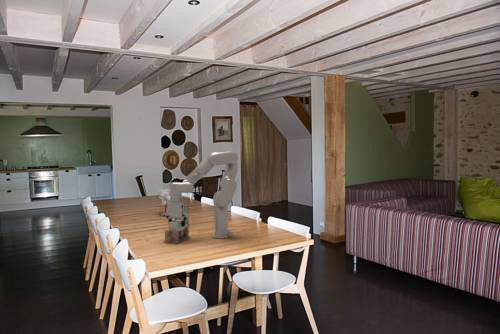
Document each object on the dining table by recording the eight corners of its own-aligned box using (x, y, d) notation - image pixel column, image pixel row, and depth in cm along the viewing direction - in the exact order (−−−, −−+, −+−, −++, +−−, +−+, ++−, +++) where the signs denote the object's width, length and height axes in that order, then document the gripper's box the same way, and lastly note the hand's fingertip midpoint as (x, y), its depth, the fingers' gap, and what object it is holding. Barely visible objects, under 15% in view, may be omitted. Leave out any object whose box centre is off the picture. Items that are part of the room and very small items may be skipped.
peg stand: (190, 238, 251) (189, 226, 251) (178, 244, 236) (177, 232, 236) (176, 236, 255) (176, 225, 254) (163, 242, 240) (163, 230, 239)
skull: (156, 214, 340) (155, 189, 339) (175, 212, 349) (175, 188, 348) (163, 218, 318) (162, 192, 317) (184, 216, 327) (183, 191, 326)
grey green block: (184, 228, 249) (184, 220, 248) (176, 232, 239) (176, 223, 239) (177, 228, 251) (177, 219, 250) (169, 231, 241) (168, 222, 241)
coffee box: (189, 226, 288) (188, 205, 287) (185, 228, 282) (185, 207, 281) (178, 225, 291) (178, 205, 290) (174, 227, 284) (174, 206, 283)
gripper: (190, 200, 244) (190, 225, 245) (168, 199, 250) (168, 224, 251) (184, 202, 237) (185, 228, 238) (161, 201, 243) (162, 226, 244)
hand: (176, 226), depth 245 cm, fingers open, 9 cm apart
